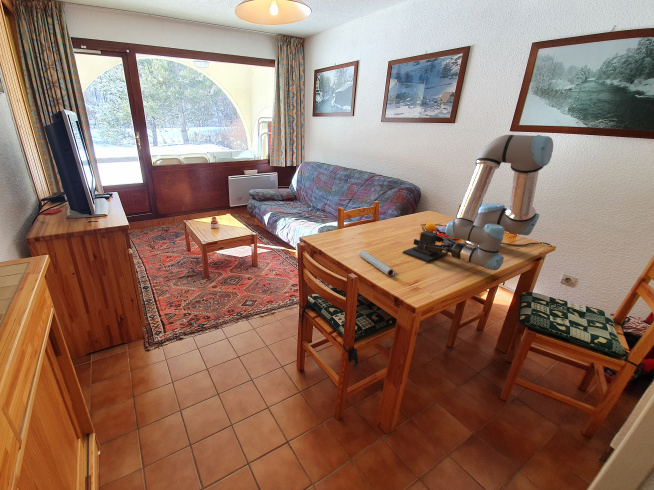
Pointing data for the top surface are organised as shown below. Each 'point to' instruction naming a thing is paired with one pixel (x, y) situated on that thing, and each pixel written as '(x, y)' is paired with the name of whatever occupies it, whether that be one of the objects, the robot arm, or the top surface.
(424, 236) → the black rectangular block
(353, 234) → the top surface
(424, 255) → the base pad
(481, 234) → the robot arm
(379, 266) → the aluminum foil
